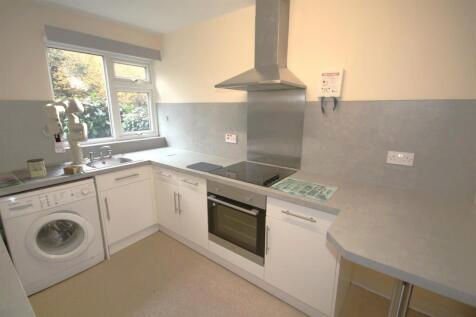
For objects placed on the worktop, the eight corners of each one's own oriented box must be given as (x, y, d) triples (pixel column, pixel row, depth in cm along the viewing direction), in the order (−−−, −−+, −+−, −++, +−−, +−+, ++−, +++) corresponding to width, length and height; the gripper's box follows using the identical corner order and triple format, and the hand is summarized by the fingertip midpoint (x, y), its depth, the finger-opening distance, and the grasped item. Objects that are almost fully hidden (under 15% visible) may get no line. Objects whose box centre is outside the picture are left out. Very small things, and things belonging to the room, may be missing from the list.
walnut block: (72, 165, 193) (82, 166, 189) (73, 171, 194) (83, 171, 190) (63, 167, 185) (73, 168, 182) (64, 173, 186) (74, 174, 183)
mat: (77, 170, 196) (77, 170, 196) (89, 171, 193) (89, 171, 192) (61, 174, 183) (61, 174, 183) (74, 175, 179) (74, 175, 179)
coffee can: (27, 177, 178) (24, 160, 175) (43, 174, 187) (39, 158, 184) (34, 178, 174) (30, 161, 171) (49, 175, 183) (46, 159, 180)
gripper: (65, 120, 184) (69, 141, 188) (52, 120, 188) (56, 141, 191) (56, 120, 177) (60, 143, 180) (42, 120, 180) (47, 142, 184)
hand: (58, 142), depth 186 cm, fingers closed
